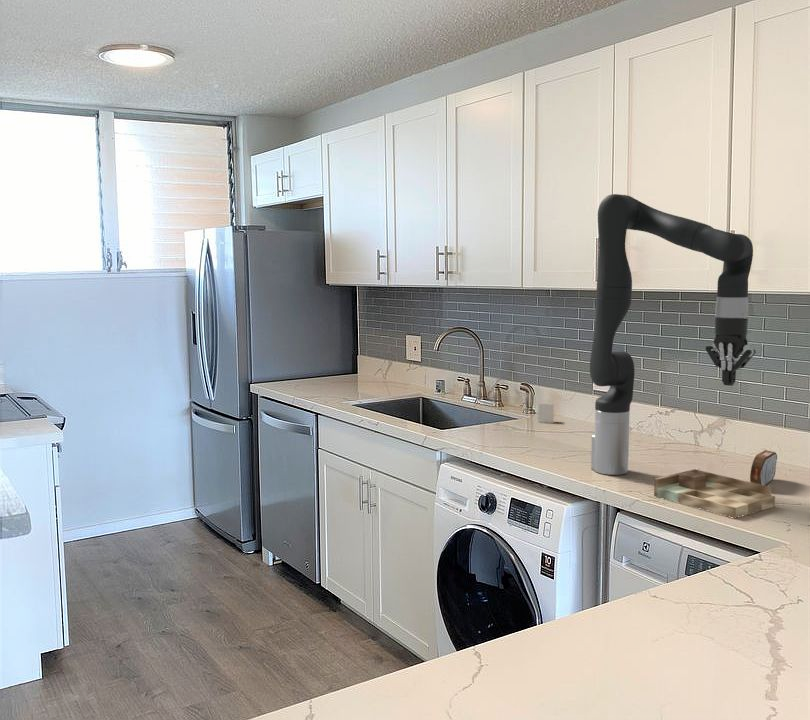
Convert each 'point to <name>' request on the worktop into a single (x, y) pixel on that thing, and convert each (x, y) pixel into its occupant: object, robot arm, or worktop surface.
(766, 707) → the worktop surface
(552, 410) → the grey square slab
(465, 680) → the worktop surface
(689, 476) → the block
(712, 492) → the tray
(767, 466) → the tin
